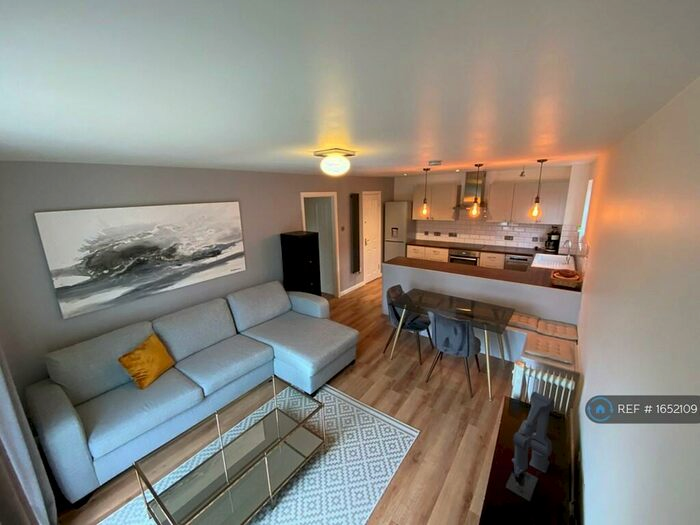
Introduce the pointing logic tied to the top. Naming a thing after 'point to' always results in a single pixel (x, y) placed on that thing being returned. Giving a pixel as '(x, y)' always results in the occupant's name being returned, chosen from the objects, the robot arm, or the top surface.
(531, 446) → the robot arm
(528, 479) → the socket block
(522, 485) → the end plug
